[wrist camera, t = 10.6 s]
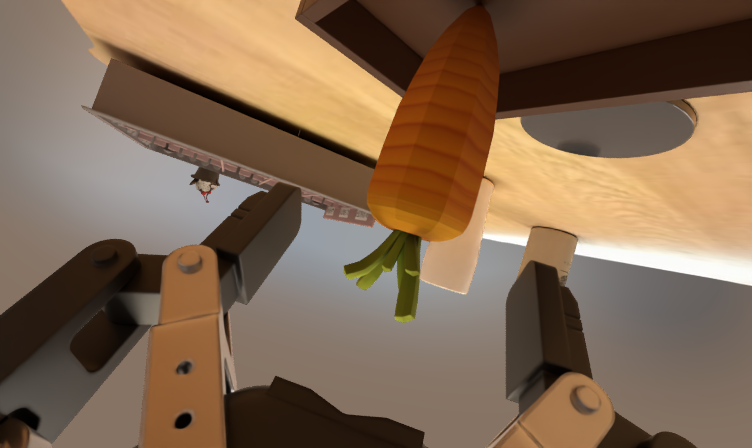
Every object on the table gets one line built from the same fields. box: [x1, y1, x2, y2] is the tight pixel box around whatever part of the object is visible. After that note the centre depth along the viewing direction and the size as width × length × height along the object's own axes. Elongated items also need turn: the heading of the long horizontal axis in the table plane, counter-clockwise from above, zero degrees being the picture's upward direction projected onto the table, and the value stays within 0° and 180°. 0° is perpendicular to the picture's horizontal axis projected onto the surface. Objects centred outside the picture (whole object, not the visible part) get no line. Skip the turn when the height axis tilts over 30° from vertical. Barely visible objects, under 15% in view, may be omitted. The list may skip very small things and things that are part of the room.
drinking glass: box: [420, 178, 494, 295], centre depth 46 cm, size 7×7×15 cm
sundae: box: [190, 167, 220, 203], centre depth 85 cm, size 7×7×15 cm
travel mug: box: [517, 227, 578, 287], centre depth 64 cm, size 8×8×18 cm
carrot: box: [344, 4, 500, 323], centre depth 16 cm, size 5×5×15 cm
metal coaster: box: [521, 99, 696, 158], centre depth 24 cm, size 10×10×1 cm
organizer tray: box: [82, 58, 375, 227], centre depth 61 cm, size 32×40×10 cm
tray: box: [295, 0, 752, 119], centre depth 14 cm, size 18×12×3 cm, turn 141°
